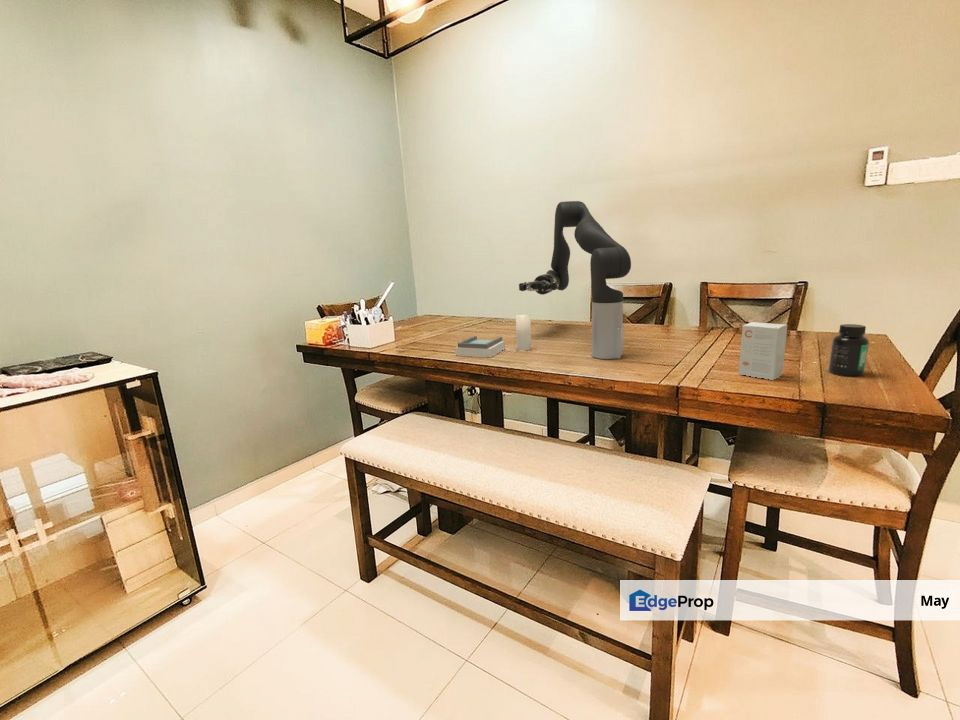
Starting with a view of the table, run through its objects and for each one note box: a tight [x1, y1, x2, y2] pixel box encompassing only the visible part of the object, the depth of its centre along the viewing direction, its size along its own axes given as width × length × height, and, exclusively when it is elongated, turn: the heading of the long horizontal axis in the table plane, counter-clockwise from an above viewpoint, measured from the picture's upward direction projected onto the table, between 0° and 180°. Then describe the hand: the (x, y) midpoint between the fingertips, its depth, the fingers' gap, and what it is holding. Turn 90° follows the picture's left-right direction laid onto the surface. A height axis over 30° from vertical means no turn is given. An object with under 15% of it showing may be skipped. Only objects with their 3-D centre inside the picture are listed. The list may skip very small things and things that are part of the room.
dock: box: [454, 335, 506, 359], centre depth 153 cm, size 13×13×4 cm
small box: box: [738, 321, 788, 381], centre depth 110 cm, size 8×6×13 cm
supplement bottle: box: [828, 323, 870, 378], centre depth 108 cm, size 7×7×12 cm
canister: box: [515, 313, 532, 351], centre depth 153 cm, size 5×5×12 cm
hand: (532, 288), depth 160 cm, fingers open, 8 cm apart
